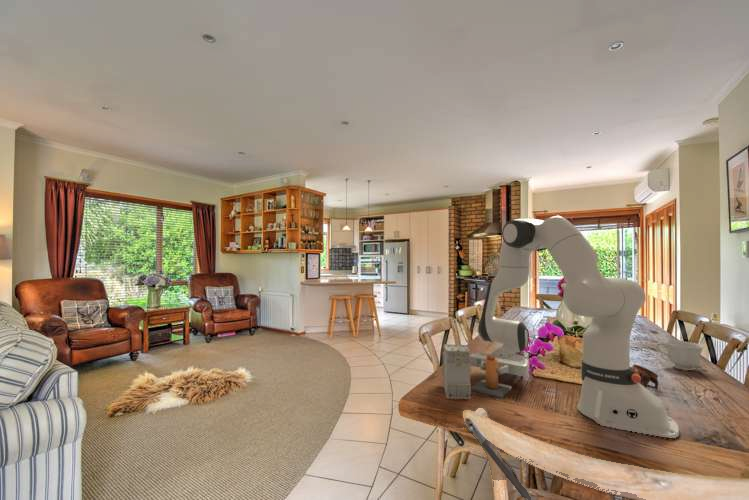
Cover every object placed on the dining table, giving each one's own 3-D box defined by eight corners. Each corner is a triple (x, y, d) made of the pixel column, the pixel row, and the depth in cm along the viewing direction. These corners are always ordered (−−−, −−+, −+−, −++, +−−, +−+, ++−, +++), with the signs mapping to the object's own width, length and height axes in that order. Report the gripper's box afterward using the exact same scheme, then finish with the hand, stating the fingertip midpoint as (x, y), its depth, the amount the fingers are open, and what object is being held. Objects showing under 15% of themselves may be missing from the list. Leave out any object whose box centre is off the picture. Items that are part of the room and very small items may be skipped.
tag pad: (511, 388, 114) (511, 386, 114) (501, 397, 106) (501, 395, 106) (482, 381, 120) (482, 379, 120) (471, 390, 112) (471, 387, 112)
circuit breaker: (463, 382, 120) (462, 340, 120) (470, 398, 105) (470, 351, 106) (442, 381, 120) (442, 340, 121) (446, 397, 106) (446, 350, 107)
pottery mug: (616, 381, 122) (626, 361, 123) (645, 397, 118) (656, 376, 119) (627, 384, 111) (638, 362, 112) (660, 401, 107) (671, 379, 108)
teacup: (651, 361, 145) (651, 338, 145) (697, 366, 138) (696, 342, 138) (661, 369, 134) (660, 344, 134) (710, 375, 127) (710, 349, 127)
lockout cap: (500, 385, 113) (498, 355, 114) (495, 389, 110) (494, 358, 111) (488, 383, 116) (487, 353, 116) (484, 386, 113) (482, 356, 113)
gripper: (476, 346, 130) (461, 354, 119) (533, 356, 117) (521, 366, 106) (477, 362, 130) (462, 372, 119) (533, 374, 117) (522, 385, 106)
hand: (490, 369), depth 113 cm, fingers open, 4 cm apart
